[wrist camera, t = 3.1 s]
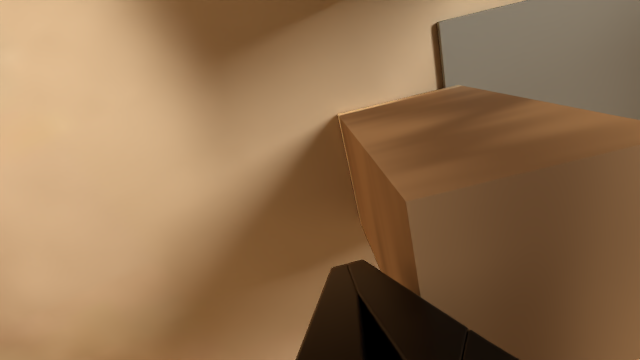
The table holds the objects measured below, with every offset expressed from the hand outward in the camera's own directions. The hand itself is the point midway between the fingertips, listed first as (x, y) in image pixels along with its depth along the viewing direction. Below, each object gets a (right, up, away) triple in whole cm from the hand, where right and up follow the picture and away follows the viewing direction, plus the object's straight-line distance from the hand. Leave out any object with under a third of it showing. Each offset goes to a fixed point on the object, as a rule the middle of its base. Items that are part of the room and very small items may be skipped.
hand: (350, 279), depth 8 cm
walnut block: (+3, +3, +7) cm, 8 cm away
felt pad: (+10, +5, +7) cm, 13 cm away
